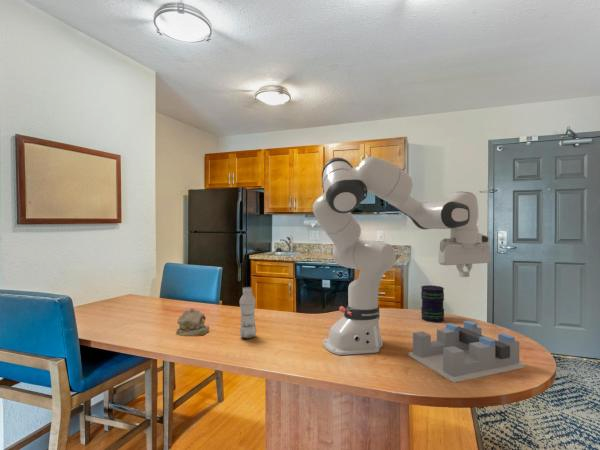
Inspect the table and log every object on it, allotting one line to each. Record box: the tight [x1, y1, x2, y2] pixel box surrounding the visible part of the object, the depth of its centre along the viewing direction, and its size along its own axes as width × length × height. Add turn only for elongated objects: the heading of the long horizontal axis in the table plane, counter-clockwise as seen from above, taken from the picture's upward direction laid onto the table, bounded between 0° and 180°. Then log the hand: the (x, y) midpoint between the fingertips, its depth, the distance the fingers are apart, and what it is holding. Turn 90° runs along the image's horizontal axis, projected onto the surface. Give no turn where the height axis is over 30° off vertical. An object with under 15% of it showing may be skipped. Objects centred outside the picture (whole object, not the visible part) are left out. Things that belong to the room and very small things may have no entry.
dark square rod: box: [458, 325, 510, 359], centre depth 108 cm, size 4×20×4 cm, turn 19°
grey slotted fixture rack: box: [408, 320, 526, 384], centre depth 106 cm, size 28×20×10 cm
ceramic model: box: [176, 308, 210, 337], centre depth 139 cm, size 14×11×10 cm
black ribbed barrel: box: [420, 284, 445, 324], centre depth 151 cm, size 10×10×15 cm
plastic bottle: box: [239, 286, 257, 339], centre depth 131 cm, size 6×7×20 cm
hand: (464, 276), depth 115 cm, fingers closed
